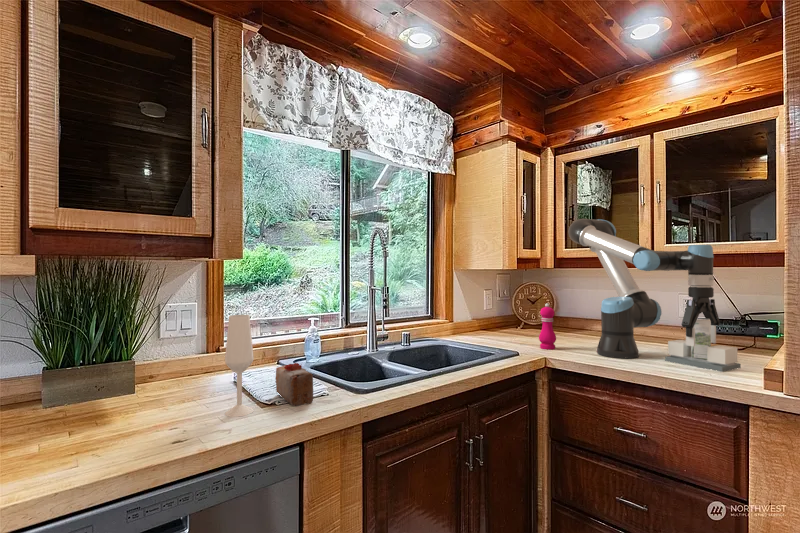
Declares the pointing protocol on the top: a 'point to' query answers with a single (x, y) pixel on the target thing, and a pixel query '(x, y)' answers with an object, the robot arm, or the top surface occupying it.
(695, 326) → the syrup box
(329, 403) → the top surface
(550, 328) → the pepper mill
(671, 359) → the board
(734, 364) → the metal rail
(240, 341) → the champagne flute
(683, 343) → the left module
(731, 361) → the block
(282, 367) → the food item
